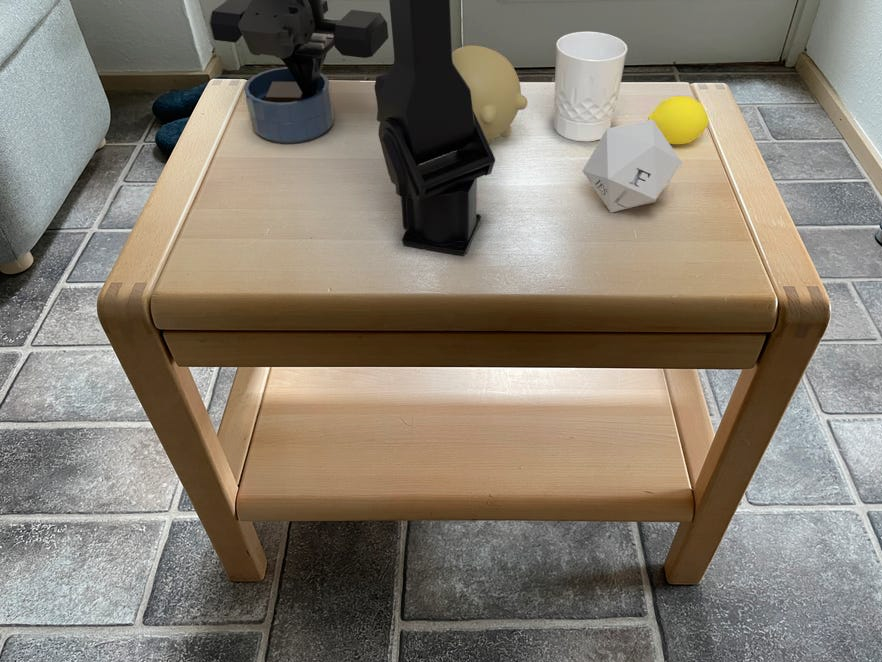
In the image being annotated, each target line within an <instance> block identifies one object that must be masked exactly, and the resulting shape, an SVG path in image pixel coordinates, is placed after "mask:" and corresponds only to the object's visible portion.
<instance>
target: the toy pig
mask: <svg viewBox="0 0 882 662" xmlns="http://www.w3.org/2000/svg"><path fill="white" fill-rule="evenodd" d="M452 60H453V64H454V65H455V67H456V68H457V70H458V71H459V73H460V74H461V76H462V77H463V79H464V80H465V82H466V83H467V85H468V86H469V88H470V90H471V97H472V106H473V111H474V113H475V115H476V118H477V120H478V122H479V124H480V126H481V129H482V131H483V133H484V135H485V137H486V140H487V142H488V143H490V142H492V141H494V140H496V139H497V138H498V137H502V138H505V139H506V138H509V137H510V136H511V133H512V127H511V124H512V123H513V121H514V120H515V118H516V116H517V114H518V112H519V111H523V110H525V109H526V108H527V106H528V103H529V102H528V99H527V97H526V96H525V95H523V94H522V89H521V81H520V79H519V76H518V74H517V73H518V72H516V70H515V68H514V66H513V65H512V63H511V61H509V59H507V57H505V56H504V55H502V54H501V53H500V52H498V51H496V50H493V49H491V48H489V47H485V46H481V45H465V46H461V47H459V48H456V49H455V50H453V51H452Z"/></svg>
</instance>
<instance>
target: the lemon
mask: <svg viewBox="0 0 882 662" xmlns="http://www.w3.org/2000/svg"><path fill="white" fill-rule="evenodd" d="M652 119H653V121H654V122H655V124H656V125H657V126H658V128H659V129H660V131H661V132H662V134H663V135H664V137H665V138H666V140H667V141H668V143H669V144H670V145H685V144H690V143H691V142H693V141H694V140H696V139H698V138H699V137H700V136H702V134H703V133H704V132H705V130H706V129H707V128H708V126H709V124H710V119H709V116H708V113H707V111H706V108H705V107H704V105H703V104H702V103H701V102H699V101H698V100H697V99H696V98H693V97H691V96H689V95H675V96H670V97H668V98H667V99H666V98H665V99H664V100H662V101H660V103H659V104H658V105H657V106H656V108H655V109H654V110H653V111H651V113H650V114H649V115H648V116H647V120H652Z"/></svg>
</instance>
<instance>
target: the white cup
mask: <svg viewBox="0 0 882 662" xmlns="http://www.w3.org/2000/svg"><path fill="white" fill-rule="evenodd" d="M555 44H556V45H555V67H554V97H553V98H554V99H553V101H554V103H553V104H554V115H553V116H554V117H553V118H554V119H553V127H554V130H555V131H556V133H557V134H558V135H560V136H561V137H562V138H565V139H567V140H571V141H575V142H587V143H588V142H595V141H600V139H601V138H602V136H603V134H604V133H605V131H606V129H607V128H612V127H611V126H612V122H613V117H614V113H615V111H616V107H617V101H618V98H619V93H620V88H621V84H622V79H623V73H624V68H625V63H626V59H627V53H628V45H627V44H626V42H624V40H622V39H621V38H619V37H617V36H614V35H612V34H608V33H605V32H598V31H576V32H570V33H567V34H565V35H563V36H561V37H560V38H559V39H558V40H557V41H556V43H555Z"/></svg>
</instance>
